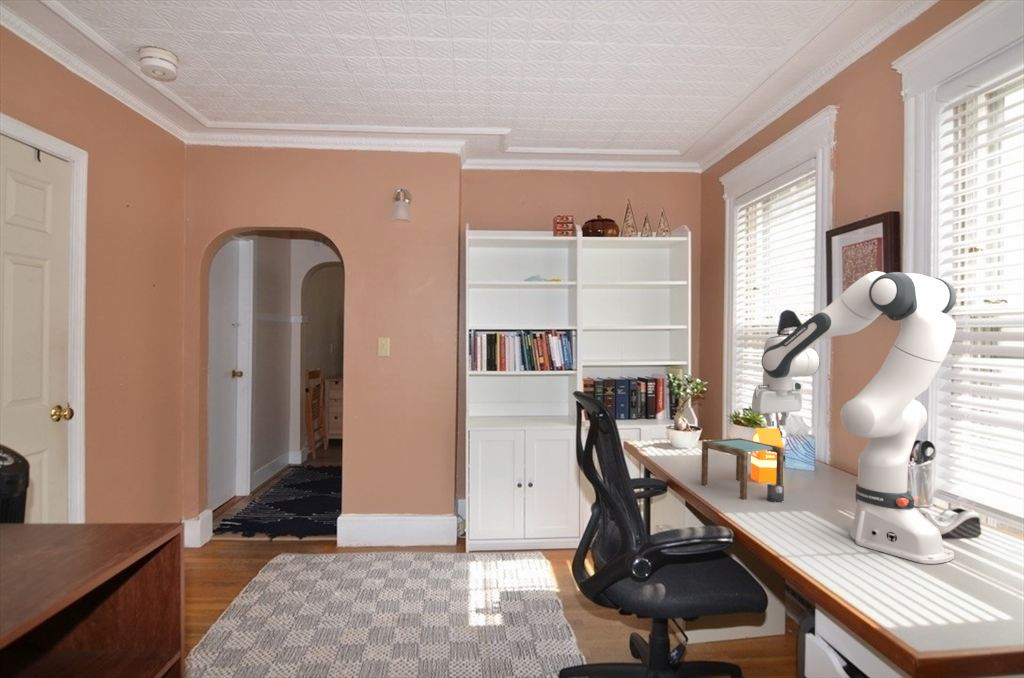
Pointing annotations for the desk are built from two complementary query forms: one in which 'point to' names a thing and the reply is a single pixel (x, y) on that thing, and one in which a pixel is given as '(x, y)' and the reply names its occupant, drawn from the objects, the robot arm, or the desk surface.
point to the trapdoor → (744, 445)
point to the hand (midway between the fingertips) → (776, 425)
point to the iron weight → (775, 492)
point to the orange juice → (765, 455)
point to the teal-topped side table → (739, 462)
